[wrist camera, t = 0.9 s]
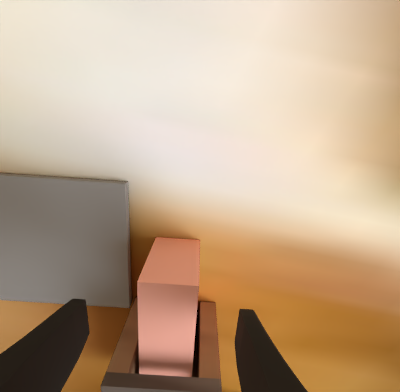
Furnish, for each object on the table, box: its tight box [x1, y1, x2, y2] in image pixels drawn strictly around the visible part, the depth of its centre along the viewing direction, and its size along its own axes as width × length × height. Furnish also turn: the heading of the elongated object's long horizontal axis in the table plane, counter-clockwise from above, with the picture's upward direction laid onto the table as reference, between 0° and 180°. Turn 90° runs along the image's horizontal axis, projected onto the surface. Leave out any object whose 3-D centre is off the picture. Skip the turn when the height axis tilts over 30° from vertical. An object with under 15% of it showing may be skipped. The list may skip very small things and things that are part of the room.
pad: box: [0, 173, 132, 308], centre depth 16 cm, size 10×10×1 cm
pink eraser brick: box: [137, 237, 200, 377], centre depth 15 cm, size 10×3×5 cm, turn 176°
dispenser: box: [101, 297, 222, 392], centre depth 16 cm, size 7×6×6 cm
